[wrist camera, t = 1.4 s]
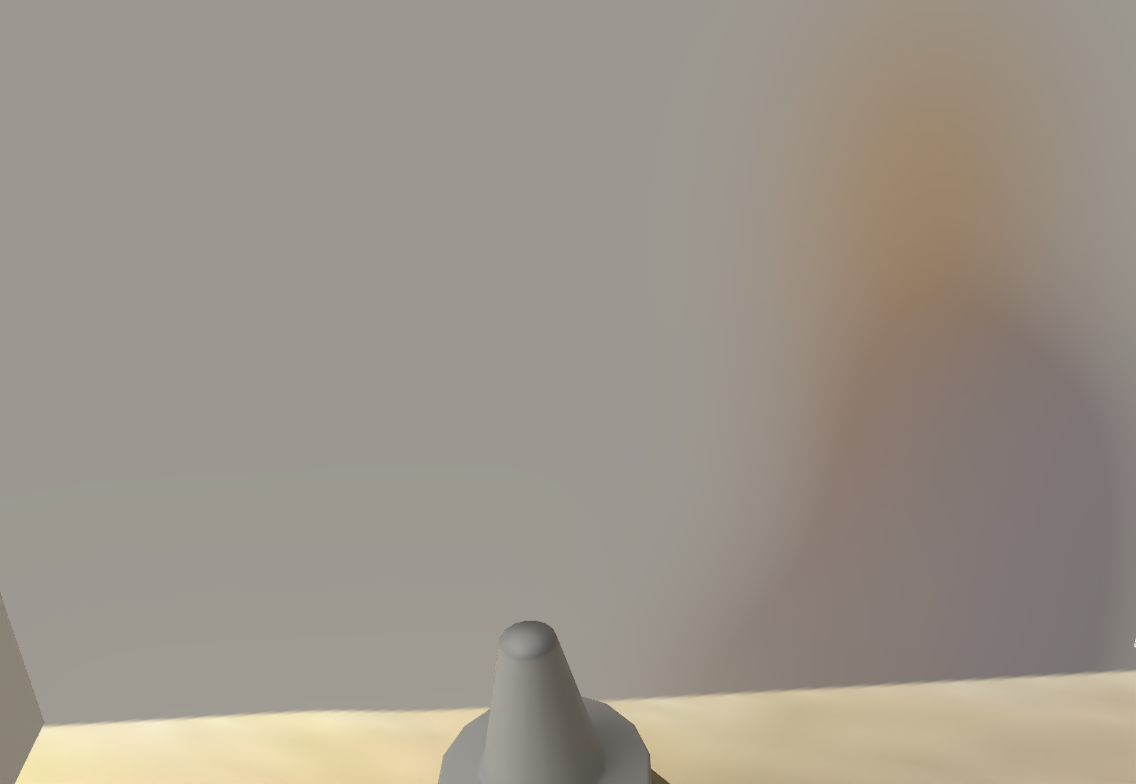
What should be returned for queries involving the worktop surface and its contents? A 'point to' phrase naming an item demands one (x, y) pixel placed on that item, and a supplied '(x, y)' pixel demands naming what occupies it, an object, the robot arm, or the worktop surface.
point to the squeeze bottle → (544, 725)
